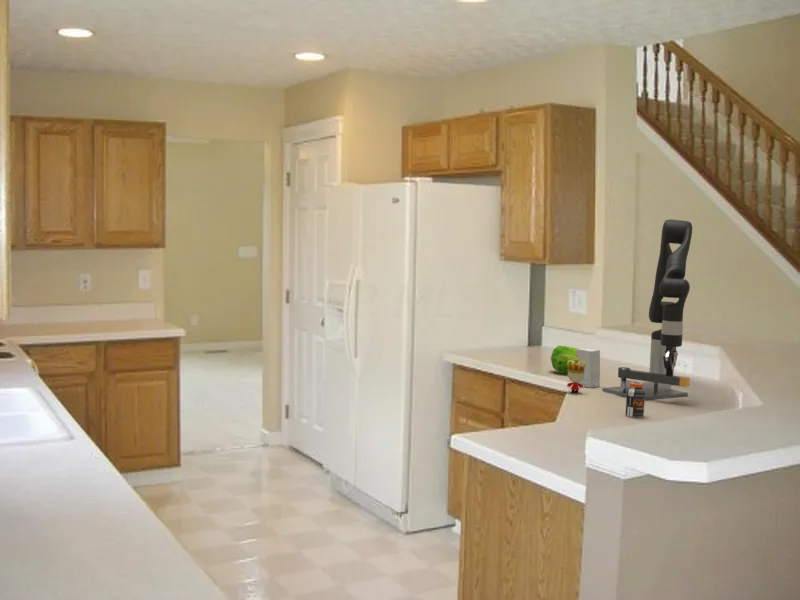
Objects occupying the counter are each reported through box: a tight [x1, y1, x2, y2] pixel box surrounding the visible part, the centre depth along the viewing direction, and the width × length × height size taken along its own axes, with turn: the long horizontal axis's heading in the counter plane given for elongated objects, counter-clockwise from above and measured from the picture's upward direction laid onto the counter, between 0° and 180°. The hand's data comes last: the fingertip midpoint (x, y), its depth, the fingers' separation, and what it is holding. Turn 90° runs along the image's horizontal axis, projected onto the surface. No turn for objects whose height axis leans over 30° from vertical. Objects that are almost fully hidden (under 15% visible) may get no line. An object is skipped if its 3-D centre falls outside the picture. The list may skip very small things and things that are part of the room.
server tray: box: [601, 378, 689, 401], centre depth 341 cm, size 25×20×7 cm
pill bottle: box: [625, 382, 646, 418], centre depth 298 cm, size 6×6×11 cm
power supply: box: [626, 379, 654, 393], centre depth 339 cm, size 7×9×4 cm
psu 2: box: [654, 382, 672, 392], centre depth 344 cm, size 7×9×4 cm
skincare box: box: [576, 347, 601, 388], centre depth 353 cm, size 8×6×15 cm
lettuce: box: [550, 345, 580, 375], centre depth 383 cm, size 14×20×12 cm
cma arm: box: [617, 366, 691, 388], centre depth 328 cm, size 27×4×4 cm, turn 51°
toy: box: [566, 355, 586, 394], centre depth 337 cm, size 7×7×15 cm
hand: (669, 379), depth 327 cm, fingers closed
